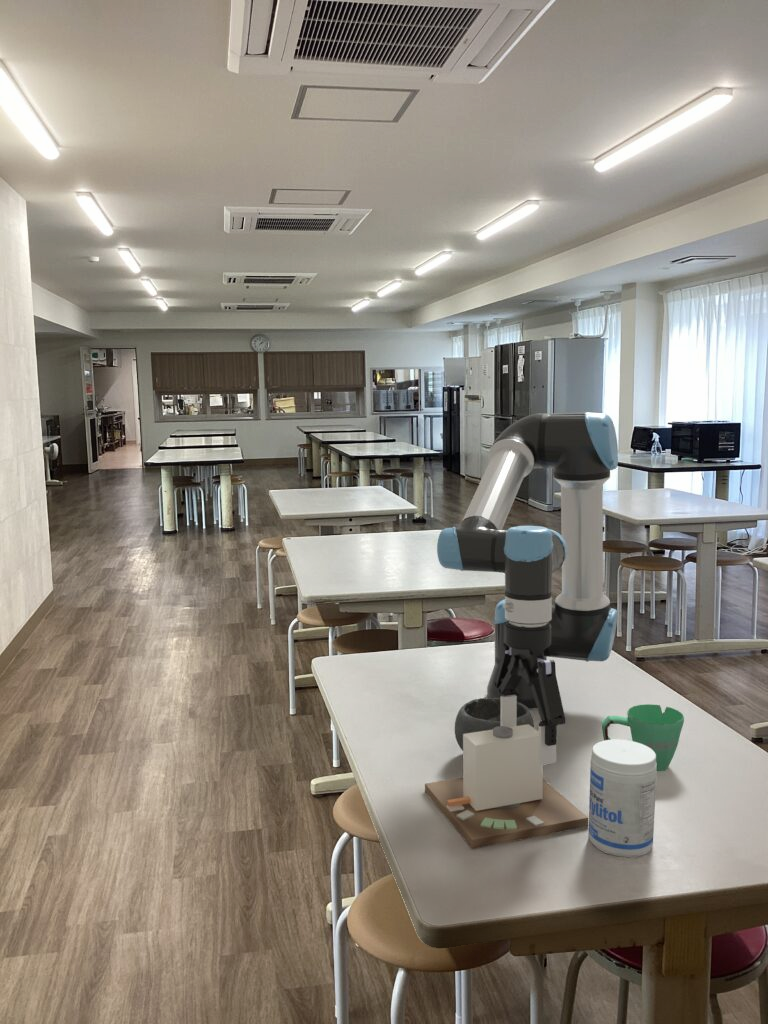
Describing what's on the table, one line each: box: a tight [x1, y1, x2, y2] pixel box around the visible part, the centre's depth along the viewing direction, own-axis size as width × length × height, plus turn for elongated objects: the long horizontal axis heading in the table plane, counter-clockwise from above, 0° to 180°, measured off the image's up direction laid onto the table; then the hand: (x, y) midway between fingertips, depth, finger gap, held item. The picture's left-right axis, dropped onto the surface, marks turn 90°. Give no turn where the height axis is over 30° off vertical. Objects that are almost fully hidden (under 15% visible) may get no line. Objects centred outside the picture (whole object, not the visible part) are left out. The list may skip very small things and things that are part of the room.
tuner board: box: [424, 776, 589, 850], centre depth 138 cm, size 20×20×2 cm
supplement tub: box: [587, 738, 657, 858], centre depth 125 cm, size 10×10×15 cm
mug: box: [601, 703, 685, 773], centre depth 152 cm, size 15×10×10 cm
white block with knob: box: [447, 724, 544, 811], centre depth 136 cm, size 16×5×12 cm, turn 108°
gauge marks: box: [447, 805, 544, 830], centre depth 132 cm, size 12×10×1 cm
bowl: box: [454, 697, 536, 752], centre depth 156 cm, size 15×15×10 cm
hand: (526, 747), depth 137 cm, fingers open, 13 cm apart
